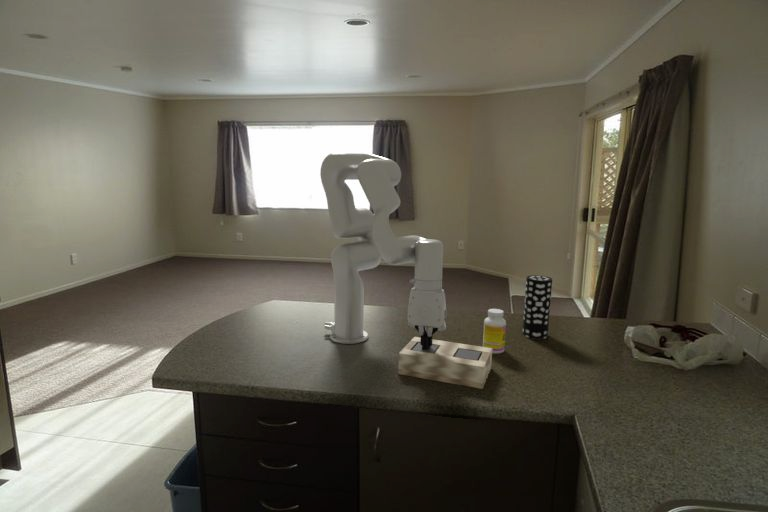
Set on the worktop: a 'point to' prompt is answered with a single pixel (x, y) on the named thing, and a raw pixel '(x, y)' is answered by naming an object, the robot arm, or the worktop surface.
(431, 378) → the switch box
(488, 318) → the supplement bottle
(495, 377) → the worktop surface
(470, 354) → the cap
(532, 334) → the white-spotted black cylinder
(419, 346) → the cap
